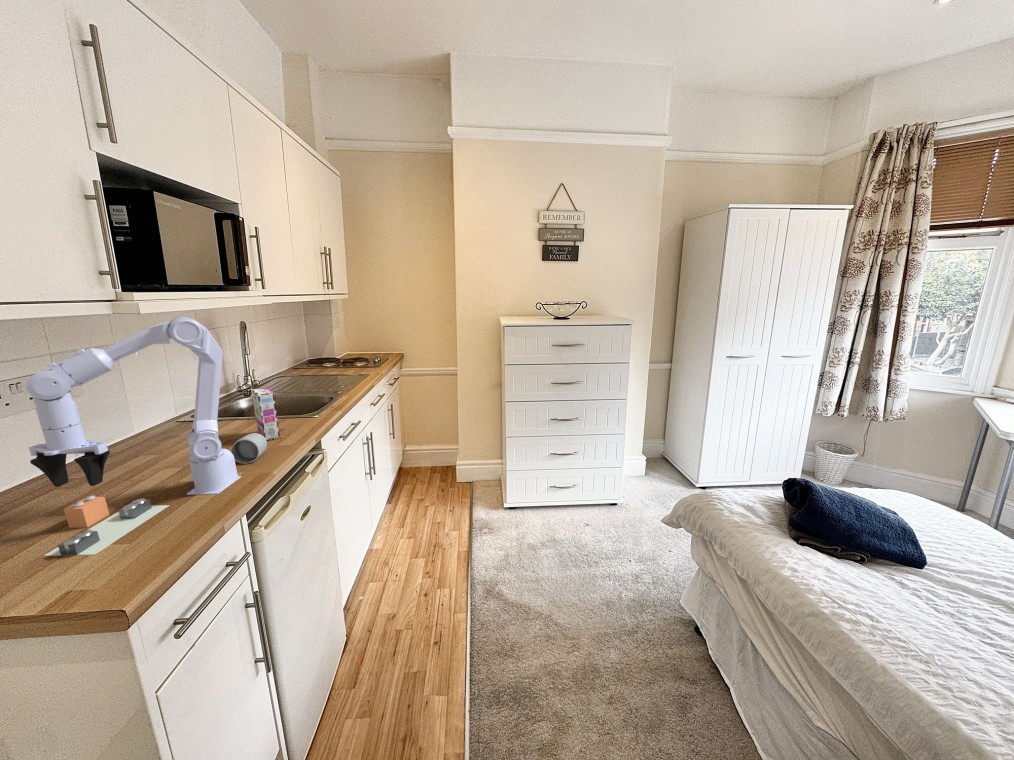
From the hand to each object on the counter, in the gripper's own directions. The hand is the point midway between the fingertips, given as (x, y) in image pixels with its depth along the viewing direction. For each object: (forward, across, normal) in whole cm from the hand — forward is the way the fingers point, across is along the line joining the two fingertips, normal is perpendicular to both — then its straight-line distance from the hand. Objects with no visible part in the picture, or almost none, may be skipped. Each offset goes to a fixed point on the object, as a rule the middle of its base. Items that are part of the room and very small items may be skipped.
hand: (79, 484), depth 88 cm
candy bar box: (+10, +10, +53) cm, 55 cm away
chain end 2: (+9, +8, +3) cm, 12 cm away
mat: (+9, +8, -3) cm, 13 cm away
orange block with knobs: (+10, 0, 0) cm, 10 cm away
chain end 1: (+9, +8, -10) cm, 15 cm away
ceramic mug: (+10, +15, +33) cm, 37 cm away
